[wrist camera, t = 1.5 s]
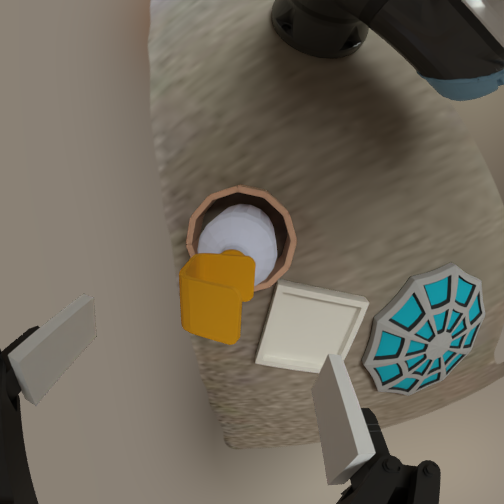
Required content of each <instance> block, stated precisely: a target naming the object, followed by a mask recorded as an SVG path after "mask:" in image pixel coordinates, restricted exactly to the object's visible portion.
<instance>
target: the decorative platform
mask: <svg viewBox="0 0 504 504" xmlns="http://www.w3.org/2000/svg"><path fill="white" fill-rule="evenodd" d="M484 317H485V309H484V304H483V297H482V284H481V280H480V279H478V278H476V277H474V276H471V275H469V274H467V273H465V272H464V271H463V270H461V269H460V268H459V267H458V266H457V265H455V264H454V263H452V262H450V263H448V264H446V265H444V266H442V267H440V268H438V269H436V270H433V271H430V272H427V273H424V274H420V275H415V276H411V277H410V278H409V279H408V281H407V282H406V283H405V285H404V286H403V287H402V289H401V290H400V291H399V292H398V294H397V295H396V296H395V297H394V298H393V299H392V300H391V301H390V302H389V303H388V304H387V305H386V306H385V307H384V308H383V309H382V310H381V311H380V312H379V313H378V314H377V315H376V316H374V320H373V326H372V331H371V336H370V340H369V343H368V346H367V348H366V351H365V353H364V356H363V358H362V362H363V365H364V366H365V367H366V369H367V370H368V371H369V373H370V374H371V376H372V377H373V380H374V382H375V385H376V388H377V390H378V392H393V393H400V394H404V395H408V396H409V395H411V394H413V393H415V392H417V391H419V390H421V389H424V388H426V387H428V386H430V385H433V384H435V383H438V382H440V381H443V380H444V379H445V378H446V376H447V375H448V374H449V373H450V372H451V371H452V370H453V369H454V368H455V367H456V366H457V365H458V364H459V363H460V361H461V360H462V359H463V358H464V357H465V356H466V355H467V354H468V353H469V352H470V351H471V349H472V347H473V344H474V341H475V339H476V336H477V333H478V331H479V328H480V326H481V324H482V321H483V319H484Z"/></svg>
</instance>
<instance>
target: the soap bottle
mask: <svg viewBox="0 0 504 504" xmlns="http://www.w3.org/2000/svg"><path fill="white" fill-rule="evenodd" d="M197 251H198V254H195V255H193V256H192V257H191V258H190V260H189V261H188V262H187V263H186V264H185V265H184V267H183V268H182V269H181V270H180V272H179V285H180V307H181V323H182V327H183V328H184V330H186V331H188V332H190V333H192V334H195V335H198V336H201V337H205V338H208V339H211V340H215V341H218V342H222V343H225V344H229V345H231V344H235V343H236V342H237V341H238V339H239V338H240V331H241V312H242V301H243V302H247V301H249V300H251V299H252V297H253V295H254V286H256V285H258V284H259V283H261V282H262V281H264V280H265V279H266V278H267V277H268V275H269V274H270V273H271V271H272V270H273V269H274V266H275V262H276V259H277V245H276V238H275V232H274V226H273V224H272V222H271V220H270V218H269V216H267V215H266V214H265V213H264V212H263V211H262V210H261V209H260V208H257V207H255V206H253V205H250V204H237V205H234V206H230V207H228V208H227V209H225V210H224V211H223V212H221V213H220V214H219V215H218V216H216V217H215V218H214V219H213V220H212V221H211V222H210V223H208V224H207V226H206V227H205V229H204V230H203V232H202V234H201V235H200V238H199V243H198V248H197Z"/></svg>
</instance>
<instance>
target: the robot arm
mask: <svg viewBox="0 0 504 504" xmlns="http://www.w3.org/2000/svg"><path fill="white" fill-rule="evenodd" d="M272 22H273V26H274V28H275V30H276V32H277V33H278V35H279V36H280V37H281V38H282V39H283V40H284V41H285V42H286V43H288V44H289V45H290V46H292V47H293V48H295V49H297V50H299V51H301V52H303V53H306V54H309V55H312V56H316V57H322V58H338V57H343V56H347V55H349V54H351V53H353V52H355V51H356V50H357V49H358V48H359V47H360V46H361V45H362V43H363V42H364V41H365V39H366V37H367V34H368V27H369V28H370V29H371V30H373V31H374V32H375V33H376V34H378V35H379V36H380V37H381V38H382V39H384V40H385V41H386V42H387V43H388V44H389V45H391V46H392V47H393V48H394V49H395V50H396V51H397V52H398V53H399V54H400V55H401V56H403V57H404V58H405V59H406V60H407V61H408V62H409V63H410V64H411V65H412V66H413V67H414V68H415V69H416V71H417V73H418V74H419V75H420V76H421V77H422V78H424V79H426V80H427V81H428V83H429V84H430V85H431V86H432V87H433V88H434V89H435V90H436V91H437V92H438V93H439V94H440V95H442V96H443V97H446V98H449V99H451V100H456V101H465V100H472V99H476V98H480V97H483V96H485V95H488V94H490V93H492V92H494V91H496V90H497V89H498V86H500V85H504V0H275V2H274V4H273V8H272ZM96 337H97V336H96V323H95V308H94V297H92V296H89V295H86V294H82V295H81V296H80V297H78V298H77V299H76V300H75V301H73V302H72V303H71V304H69V305H68V306H67V307H65V308H64V309H63V310H61V311H60V312H59V313H58V314H56V315H55V316H54V317H52V318H51V319H50V320H49V321H47V322H46V323H45V324H44V325H43V326H41V327H38V326H36V327H33V328H30V329H28V330H27V331H26V332H25V333H23V335H21V336H20V337H19V338H18V339H16V340H15V341H14V342H13V343H11V344H10V345H9V346H8V347H7V348H5V349H4V350H3V351H2V352H1V350H0V504H38V501H37V498H36V494H35V491H34V487H33V483H32V479H31V475H30V471H29V467H28V462H27V457H26V451H25V445H24V439H23V431H22V422H21V411H20V398H19V395H18V394H19V393H20V392H21V391H22V393H23V395H24V397H25V399H26V400H28V401H30V402H31V403H32V404H34V405H35V406H37V404H38V403H39V402H40V401H41V400H42V398H43V397H44V396H45V395H46V393H47V392H48V391H49V390H50V389H51V388H52V386H53V385H54V384H55V383H56V382H57V381H58V379H59V378H60V377H61V376H62V375H63V374H64V372H65V371H66V370H67V369H68V368H69V367H70V366H71V364H72V363H73V362H74V361H75V360H76V359H77V358H78V357H79V355H80V354H81V353H82V352H83V351H84V350H85V349H86V348H87V346H88V345H89V344H90V343H91V342H92V341H93V340H94V339H95V338H96ZM311 390H312V395H313V401H314V406H315V411H316V417H317V423H318V428H319V434H320V440H321V446H322V451H323V457H324V464H325V470H326V476H327V483H328V485H338V484H344V483H345V482H347V481H348V480H349V479H350V480H351V486H350V487H348V488H347V489H346V490H345V491H343V492H342V493H341V494H342V497H341V498H340V499H339V501H338V502H337V503H336V504H439V493H440V468H439V467H438V465H437V464H436V463H435V462H433V461H430V460H429V461H428V460H426V461H423V462H421V463H420V464H419V465H418V466H409V465H403V464H402V463H401V462H400V460H399V459H398V458H396V457H395V456H391V455H390V453H389V451H388V448H387V445H386V443H385V440H384V437H383V435H382V432H381V429H380V426H379V425H378V421H377V419H376V416H375V415H374V413H373V412H372V411H371V410H370V409H369V408H360V405H359V402H358V400H357V397H356V394H355V391H354V388H353V386H352V383H351V380H350V378H349V375H348V372H347V370H346V367H345V364H344V362H343V359H342V357H341V355H335V354H328V355H327V357H326V360H325V362H324V364H323V366H322V368H321V371H320V373H319V375H318V377H317V379H316V381H315V383H314V385H313V387H312V389H311Z"/></svg>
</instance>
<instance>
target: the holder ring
mask: <svg viewBox="0 0 504 504" xmlns="http://www.w3.org/2000/svg"><path fill="white" fill-rule="evenodd" d="M236 192H240V193H244V194H249V195H254V196H258V197H262V198H265V199H266V200H267V201H268V202H269V203H270V204H271V205H272V206H273V207H274V208H276V209H277V210H278V211H279V212H280V213H281V214H282V215H283V219H284V222H285V226H286V229H287V232H288V234H287V238H286V241H285V245H284V249H283V253H282V255H281V256H280V257H279V258H278V259H277V260H276V262H275V266H274V269H273V270H272V271H271V273H270V274H269V275H268V277H267V278H266V279H265V280H264V281H262V282H261V283H259V284H258V285H256V286H254V292H255V291H258V290H262V289H266V288H269V286H270V287H271V286H272V285H273V284H274V283H275V282H276V281H277V280H278V279H279V278H280V277H281V276H282V275H283V274H284V273H285V272H286V271H287V270H288V269H289V267H290V266H291V262H292V258H293V255H294V251H295V247H296V244H297V238H296V235H295V231H294V227H293V224H292V220H291V217H290V214H289V212H288V210H287V209H286V207H284V206H283V205H282V204H281V203H280V202H279V201H278V200H277V199H276V198H275V197H274V196H273V195H272V194H271V193H269V192H268V191H266V190H264V189H260V188H256V187H251V186H246V185H242V184H241V185H237V186H234V187H231V188H228V189H225V190H222V191H219V192H216V193H213V194H210V195H209V196H208V197H207V198H206V199H205V200H204V201H203V202H202V204H201V205H200V206H199V207H198V208H197V209H196V211H195V212H194V213H193V214H192V215H191V217H190V222H189V228H188V234H187V240H186V244H187V245H186V246H187V249H188V252H189V254H190V257H192V256H193V255H195V254H198V251H197V248H198V243H199V238H200V234H201V228H202V223H203V218H204V214H205V213H206V211H207V210H208V209H209V208H210V207H211V206H212V205H213V203H214V202H215V201H216V200H217V199H218V198H221V197H224V196H227V195H230V194H233V193H236Z"/></svg>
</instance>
